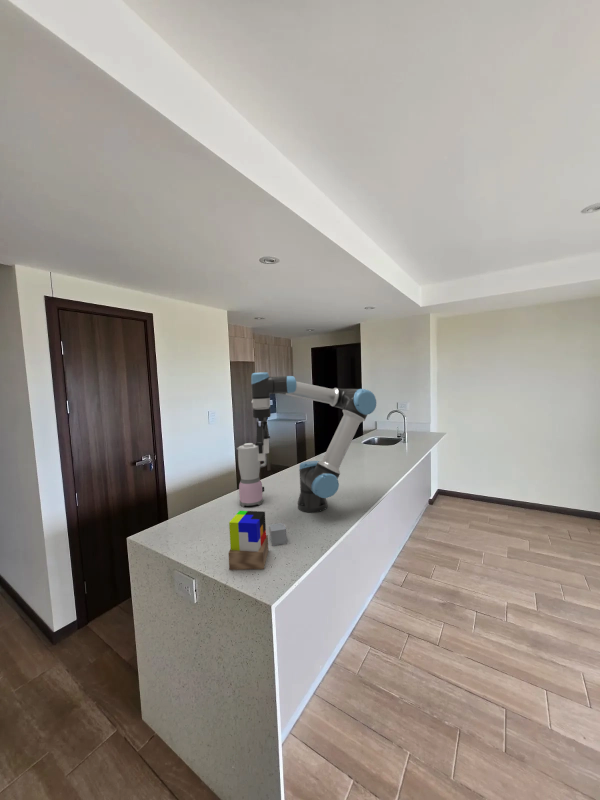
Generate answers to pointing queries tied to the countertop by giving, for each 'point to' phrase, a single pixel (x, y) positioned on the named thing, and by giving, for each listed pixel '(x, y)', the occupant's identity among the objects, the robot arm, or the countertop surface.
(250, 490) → the blender
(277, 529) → the slate block
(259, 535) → the puzzle toy
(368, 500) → the countertop surface
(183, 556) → the countertop surface
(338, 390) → the robot arm
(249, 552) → the walnut block
